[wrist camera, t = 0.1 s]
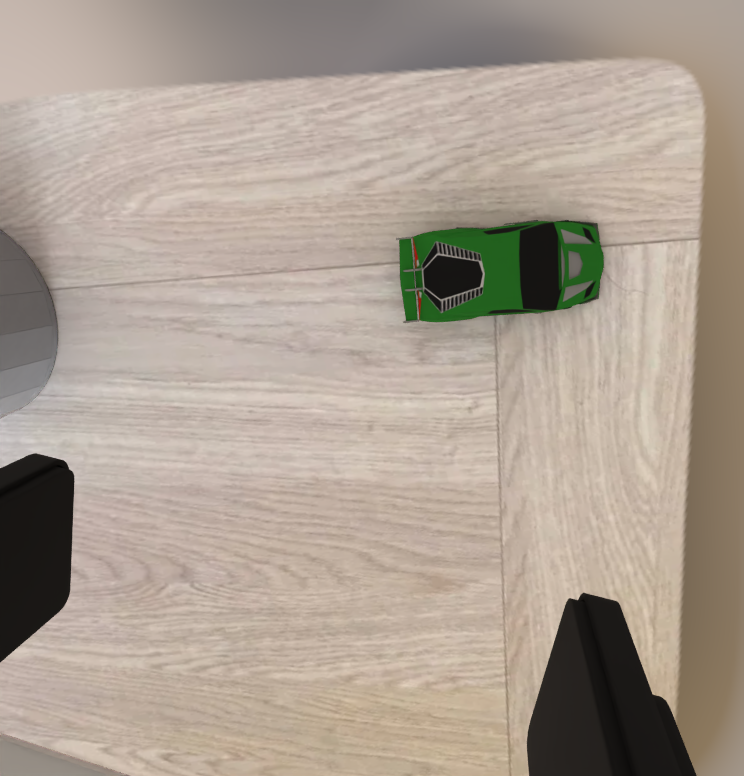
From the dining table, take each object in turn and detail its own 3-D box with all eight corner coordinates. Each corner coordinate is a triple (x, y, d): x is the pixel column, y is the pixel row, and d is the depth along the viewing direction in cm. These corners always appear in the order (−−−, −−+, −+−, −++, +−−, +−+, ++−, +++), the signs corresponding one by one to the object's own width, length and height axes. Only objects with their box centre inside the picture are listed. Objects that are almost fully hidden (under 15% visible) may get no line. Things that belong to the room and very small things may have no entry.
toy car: (601, 212, 29) (609, 210, 27) (601, 307, 30) (610, 313, 28) (401, 233, 31) (395, 233, 29) (409, 322, 32) (403, 328, 30)
